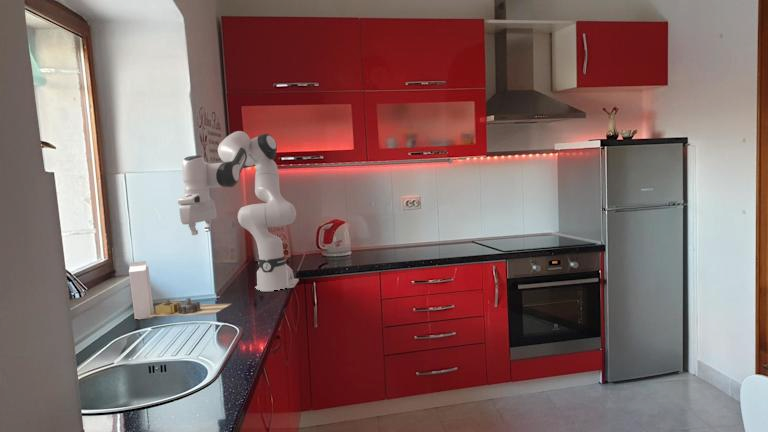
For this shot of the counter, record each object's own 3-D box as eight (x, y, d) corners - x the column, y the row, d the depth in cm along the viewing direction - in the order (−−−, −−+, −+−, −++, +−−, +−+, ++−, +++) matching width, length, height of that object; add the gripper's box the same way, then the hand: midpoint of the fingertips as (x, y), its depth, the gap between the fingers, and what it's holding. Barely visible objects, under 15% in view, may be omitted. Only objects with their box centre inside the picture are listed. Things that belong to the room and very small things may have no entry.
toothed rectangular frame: (164, 309, 204) (163, 302, 204) (182, 309, 203) (181, 301, 202) (155, 314, 198) (154, 306, 198) (173, 313, 197) (172, 305, 196)
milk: (151, 317, 199) (144, 262, 197) (134, 320, 198) (127, 263, 196) (154, 313, 205) (147, 259, 203) (137, 316, 204) (131, 261, 202)
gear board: (172, 308, 211) (170, 293, 210) (232, 307, 205) (230, 291, 205) (148, 320, 196) (146, 303, 196) (213, 318, 191) (211, 301, 190)
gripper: (204, 196, 209) (208, 229, 210) (174, 200, 189) (179, 237, 190) (218, 195, 208) (222, 229, 209) (190, 199, 188) (194, 236, 189)
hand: (201, 233), depth 200 cm, fingers open, 8 cm apart
